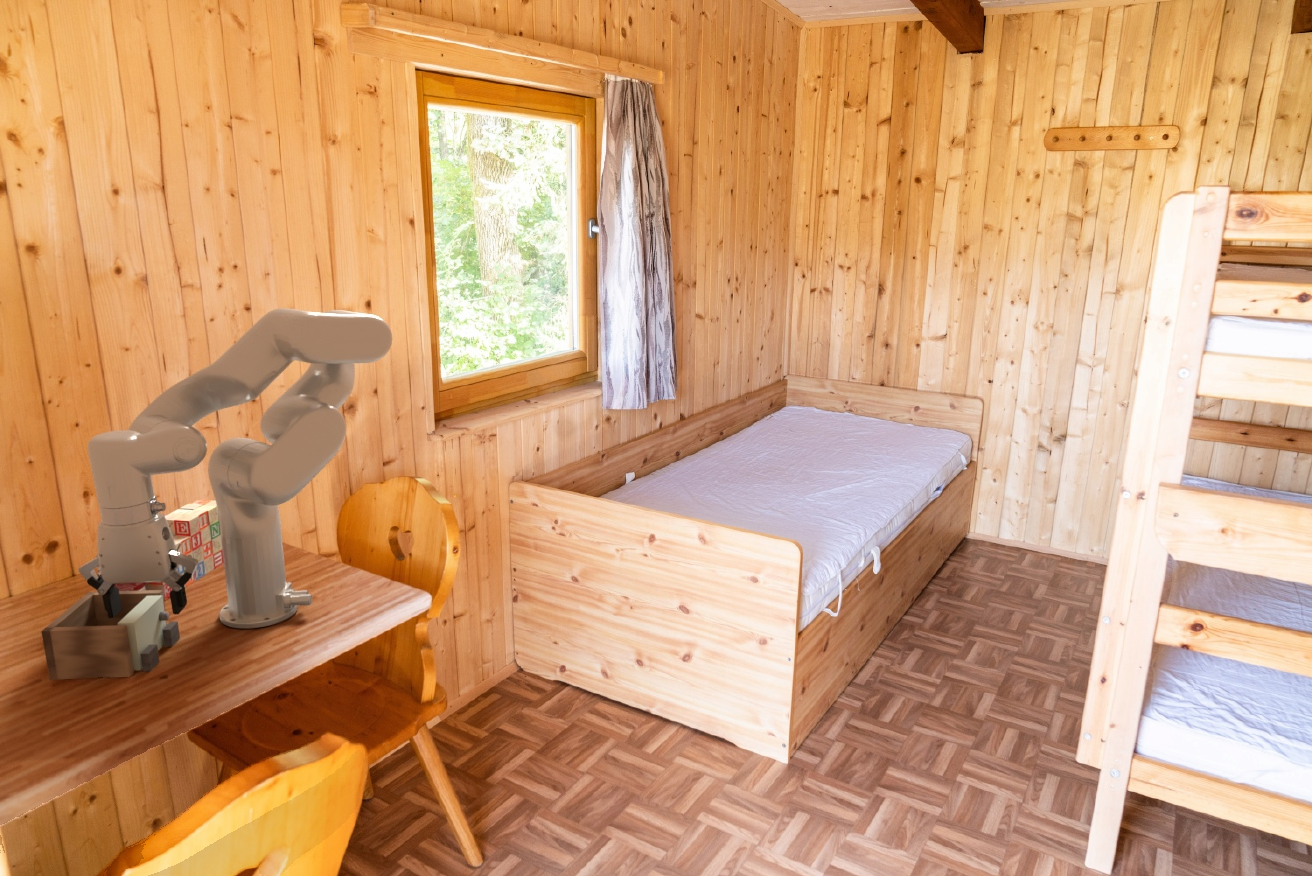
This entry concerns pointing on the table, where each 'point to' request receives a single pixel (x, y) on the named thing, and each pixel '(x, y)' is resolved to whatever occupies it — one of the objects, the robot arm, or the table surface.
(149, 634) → the door
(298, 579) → the table surface
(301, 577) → the table surface
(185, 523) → the stack of blocks
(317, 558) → the table surface
